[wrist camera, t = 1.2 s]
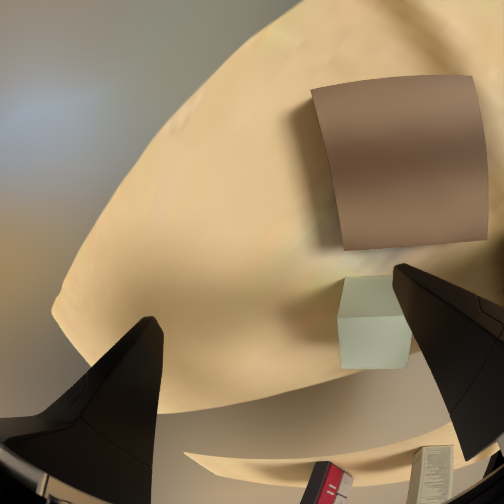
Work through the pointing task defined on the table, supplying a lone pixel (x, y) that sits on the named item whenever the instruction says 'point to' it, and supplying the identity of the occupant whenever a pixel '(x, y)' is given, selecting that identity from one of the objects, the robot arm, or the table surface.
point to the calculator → (327, 485)
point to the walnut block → (406, 160)
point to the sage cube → (372, 325)
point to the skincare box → (431, 475)
